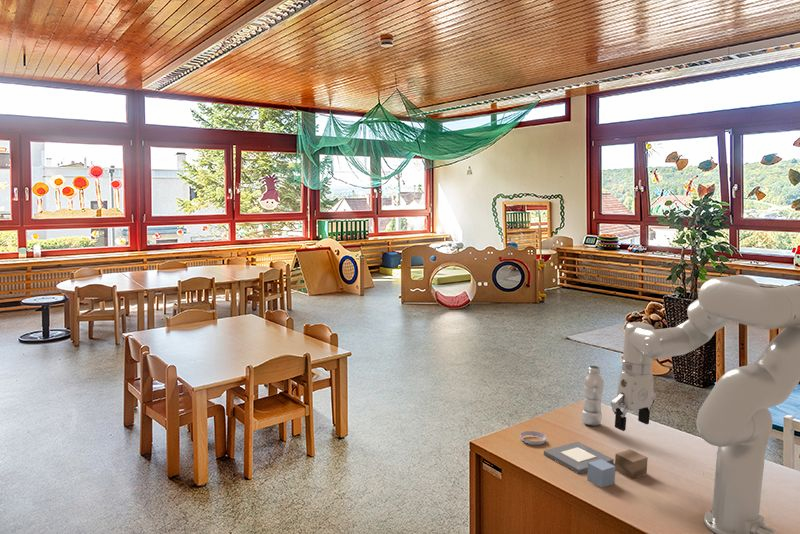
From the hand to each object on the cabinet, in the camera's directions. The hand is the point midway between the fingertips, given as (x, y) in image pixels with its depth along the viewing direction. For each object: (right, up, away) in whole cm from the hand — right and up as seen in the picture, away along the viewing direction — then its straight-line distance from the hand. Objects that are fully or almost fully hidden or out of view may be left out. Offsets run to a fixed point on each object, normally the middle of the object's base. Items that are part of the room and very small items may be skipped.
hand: (631, 425), depth 165 cm
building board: (-12, -12, +9) cm, 20 cm away
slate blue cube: (-10, -14, -5) cm, 18 cm away
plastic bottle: (0, -9, +35) cm, 37 cm away
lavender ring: (-23, -11, +21) cm, 33 cm away
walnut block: (0, -14, +1) cm, 14 cm away
